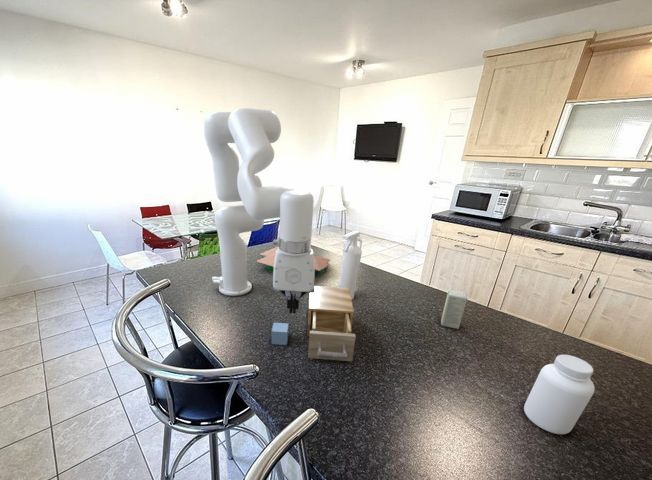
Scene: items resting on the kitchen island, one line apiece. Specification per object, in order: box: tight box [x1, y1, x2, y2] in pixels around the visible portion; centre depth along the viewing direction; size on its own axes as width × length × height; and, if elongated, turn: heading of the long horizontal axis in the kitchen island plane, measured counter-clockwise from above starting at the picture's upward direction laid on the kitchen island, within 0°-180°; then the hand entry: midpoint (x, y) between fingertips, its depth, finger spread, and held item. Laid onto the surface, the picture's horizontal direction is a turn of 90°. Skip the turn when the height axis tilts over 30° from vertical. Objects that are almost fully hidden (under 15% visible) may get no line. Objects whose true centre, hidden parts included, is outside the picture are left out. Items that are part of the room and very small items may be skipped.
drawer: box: [307, 311, 356, 362], centre depth 79 cm, size 18×11×8 cm, turn 174°
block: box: [271, 322, 290, 346], centre depth 84 cm, size 4×4×4 cm
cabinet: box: [306, 285, 355, 337], centre depth 91 cm, size 15×13×10 cm
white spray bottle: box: [337, 230, 363, 301], centre depth 105 cm, size 7×12×25 cm, turn 131°
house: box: [255, 246, 331, 276], centre depth 133 cm, size 23×33×8 cm
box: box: [440, 289, 468, 330], centre depth 92 cm, size 5×4×11 cm
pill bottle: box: [523, 354, 595, 435], centre depth 59 cm, size 8×8×15 cm
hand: (292, 310), depth 78 cm, fingers closed
